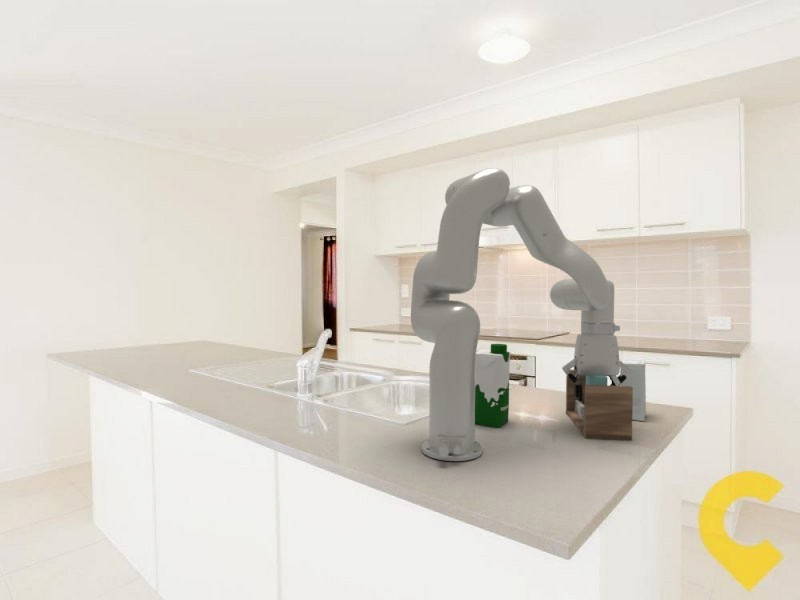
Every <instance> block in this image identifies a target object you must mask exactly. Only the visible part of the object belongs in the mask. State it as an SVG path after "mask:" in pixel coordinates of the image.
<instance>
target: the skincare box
mask: <svg viewBox="0 0 800 600" xmlns="http://www.w3.org/2000/svg"><path fill="white" fill-rule="evenodd" d="M620 361H621V362H622V363H624V364H625V365H626V366H628V367H629V368H630V369H631V370H632V372H631V373H630V375H629V376H628V377H627V378H626V380H625V381H623V382H622V383H621V385H620V386H631V387H633V408H632V421H637V422H645V421H646V418H645V417H646V416H647V415H646V414H647V406H646V404H647V399H646V398H647V397H646V396H647V395H646V391H647V389H646V385H647V384H646V360H634V359H633V360H632V359H631V360H630V359H623V360H620ZM622 372H623V369H622V368H620V371H619V375H620V374H622Z"/></svg>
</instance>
